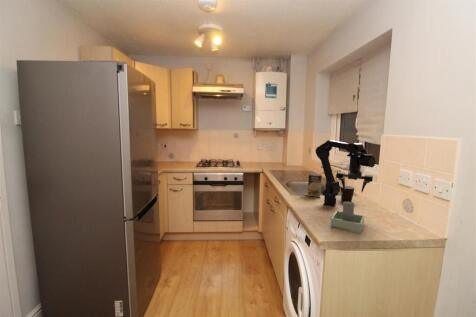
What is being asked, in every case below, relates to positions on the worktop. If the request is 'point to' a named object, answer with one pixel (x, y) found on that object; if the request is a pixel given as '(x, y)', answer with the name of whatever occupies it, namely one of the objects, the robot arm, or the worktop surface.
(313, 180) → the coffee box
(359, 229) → the sage bin
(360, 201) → the worktop surface
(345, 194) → the coffee mug
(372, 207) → the worktop surface
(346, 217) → the ball
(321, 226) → the worktop surface
